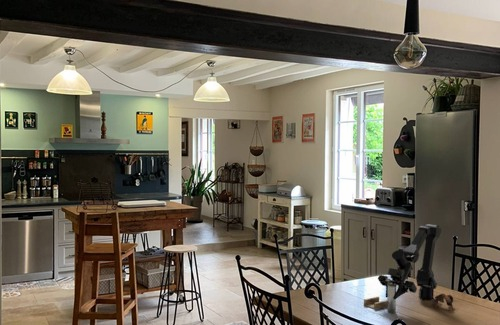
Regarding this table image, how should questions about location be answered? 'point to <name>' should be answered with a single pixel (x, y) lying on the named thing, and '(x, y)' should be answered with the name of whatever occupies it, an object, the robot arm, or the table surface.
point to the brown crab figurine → (441, 299)
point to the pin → (391, 297)
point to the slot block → (375, 303)
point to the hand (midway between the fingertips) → (390, 297)
